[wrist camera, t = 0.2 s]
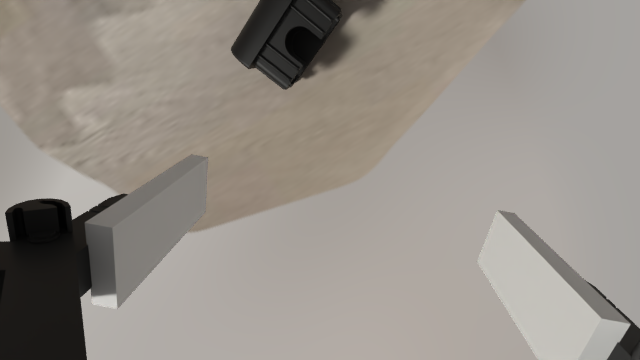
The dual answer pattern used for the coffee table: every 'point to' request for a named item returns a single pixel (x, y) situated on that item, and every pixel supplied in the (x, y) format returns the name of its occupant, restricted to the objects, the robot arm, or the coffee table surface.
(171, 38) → the coffee table surface
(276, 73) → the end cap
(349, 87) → the coffee table surface
